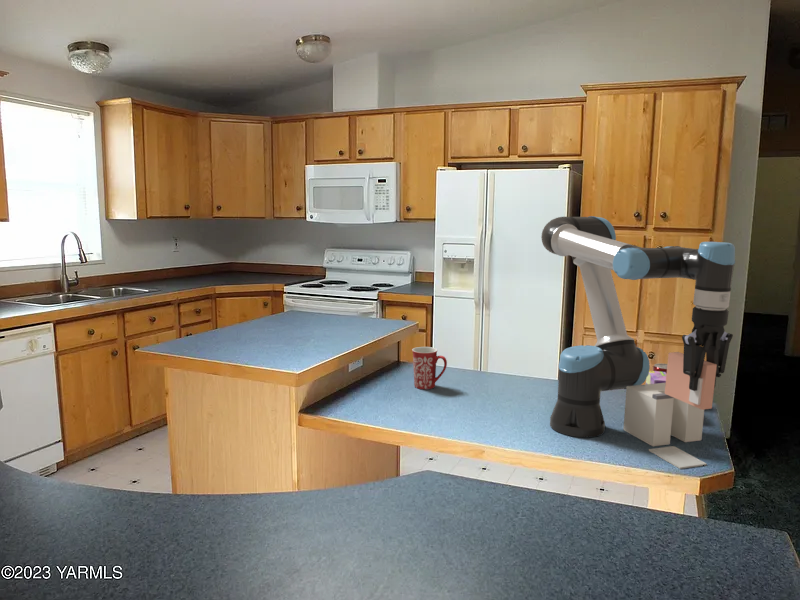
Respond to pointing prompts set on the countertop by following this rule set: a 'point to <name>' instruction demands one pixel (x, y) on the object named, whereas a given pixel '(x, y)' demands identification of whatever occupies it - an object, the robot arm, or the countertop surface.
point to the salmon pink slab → (680, 382)
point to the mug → (426, 367)
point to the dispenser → (660, 416)
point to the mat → (677, 457)
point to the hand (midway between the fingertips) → (700, 401)
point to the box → (656, 377)
